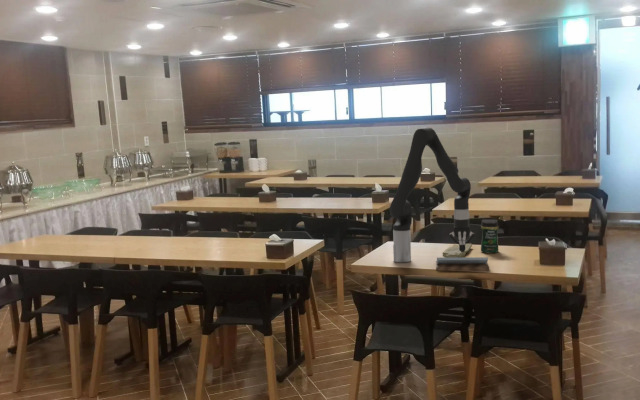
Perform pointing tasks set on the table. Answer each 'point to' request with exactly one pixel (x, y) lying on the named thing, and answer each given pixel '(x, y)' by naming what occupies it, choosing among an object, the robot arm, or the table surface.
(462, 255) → the stone slab
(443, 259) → the tilted plank
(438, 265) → the floor board
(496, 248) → the coffee jar
